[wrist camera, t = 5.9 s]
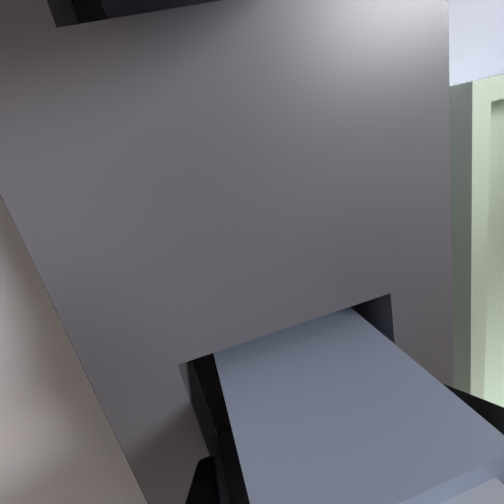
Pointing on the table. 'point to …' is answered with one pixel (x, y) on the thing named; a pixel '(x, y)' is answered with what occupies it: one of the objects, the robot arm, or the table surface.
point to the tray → (478, 236)
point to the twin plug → (143, 6)
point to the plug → (352, 421)
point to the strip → (226, 193)
